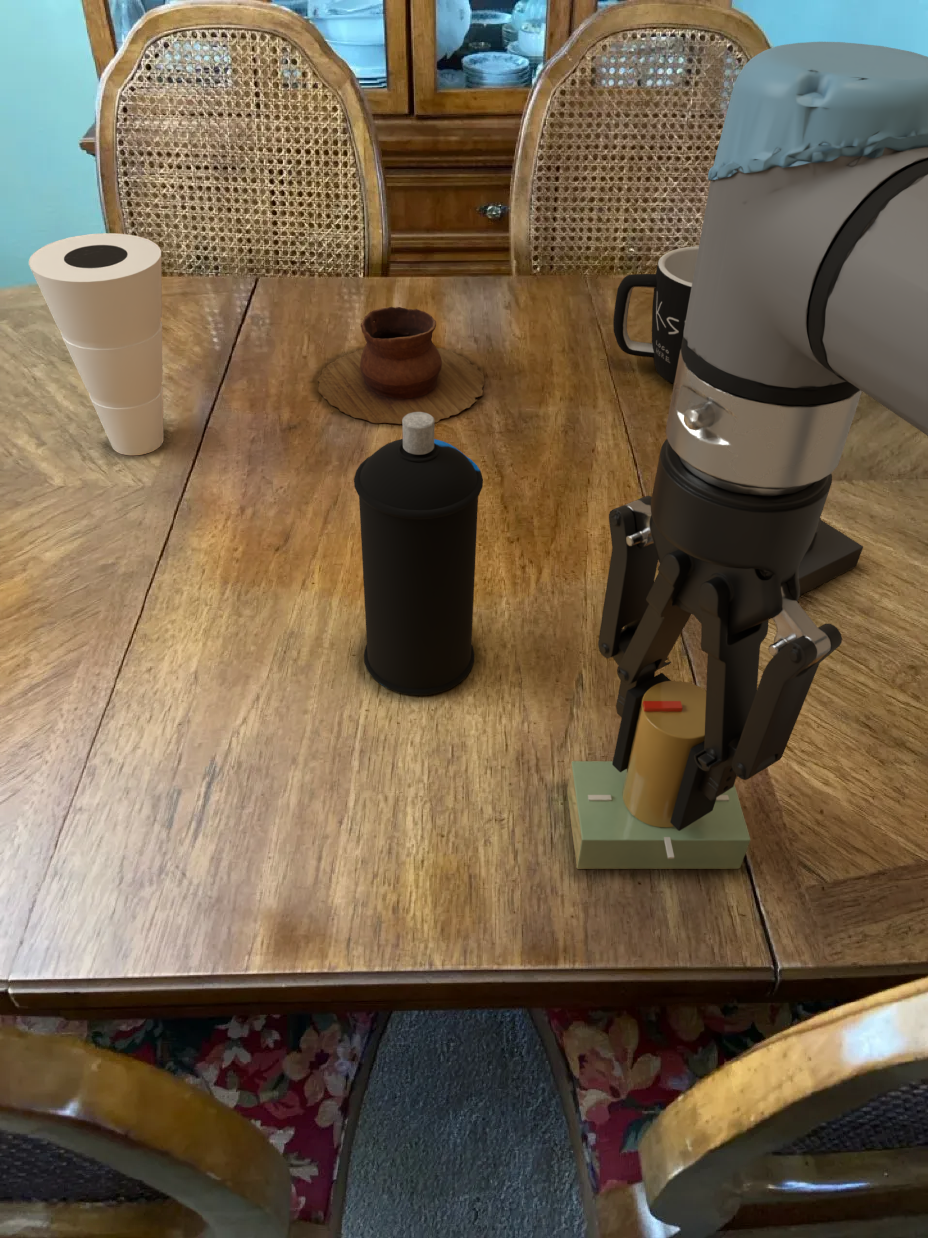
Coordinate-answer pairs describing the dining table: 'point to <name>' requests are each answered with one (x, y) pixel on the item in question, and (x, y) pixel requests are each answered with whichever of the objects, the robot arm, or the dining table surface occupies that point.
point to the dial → (663, 749)
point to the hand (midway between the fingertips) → (661, 786)
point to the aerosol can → (418, 559)
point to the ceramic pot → (400, 372)
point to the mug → (660, 309)
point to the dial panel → (647, 828)
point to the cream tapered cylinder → (111, 328)
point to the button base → (827, 557)
